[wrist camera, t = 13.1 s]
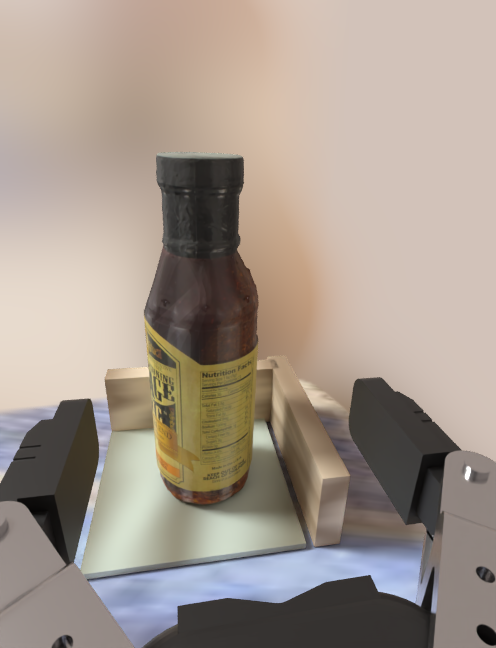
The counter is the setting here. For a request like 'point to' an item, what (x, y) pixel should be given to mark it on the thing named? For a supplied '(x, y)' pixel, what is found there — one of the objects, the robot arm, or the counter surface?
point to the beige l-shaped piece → (223, 517)
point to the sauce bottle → (202, 331)
